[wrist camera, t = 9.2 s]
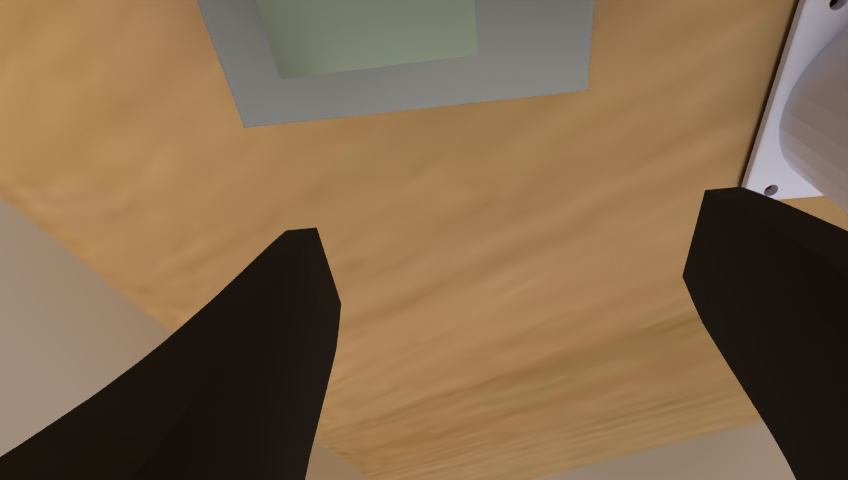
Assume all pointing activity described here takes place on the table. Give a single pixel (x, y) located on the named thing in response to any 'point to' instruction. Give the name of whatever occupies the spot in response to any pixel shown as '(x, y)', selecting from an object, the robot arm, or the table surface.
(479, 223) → the table surface
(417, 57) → the sage cube
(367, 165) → the table surface
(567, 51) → the slate plinth
